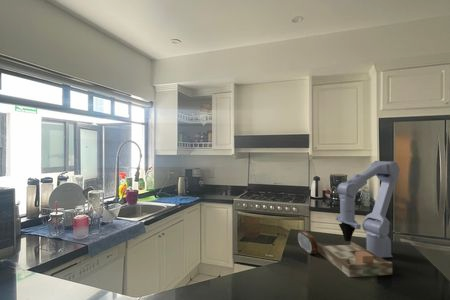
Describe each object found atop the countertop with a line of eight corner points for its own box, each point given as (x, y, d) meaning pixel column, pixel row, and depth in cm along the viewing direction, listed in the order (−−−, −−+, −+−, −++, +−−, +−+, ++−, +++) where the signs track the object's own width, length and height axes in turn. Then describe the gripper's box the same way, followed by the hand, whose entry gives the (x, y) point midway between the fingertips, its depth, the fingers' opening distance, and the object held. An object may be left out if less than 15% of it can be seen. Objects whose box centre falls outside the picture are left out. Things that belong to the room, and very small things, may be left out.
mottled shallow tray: (352, 249, 118) (352, 240, 118) (392, 274, 94) (392, 262, 94) (317, 251, 115) (317, 242, 115) (349, 277, 91) (349, 265, 92)
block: (365, 262, 99) (365, 251, 99) (373, 267, 94) (373, 255, 94) (355, 262, 98) (355, 251, 98) (362, 267, 94) (362, 256, 94)
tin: (317, 256, 110) (317, 238, 110) (311, 257, 109) (311, 238, 109) (302, 244, 124) (302, 228, 125) (296, 244, 124) (296, 228, 124)
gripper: (329, 206, 114) (330, 235, 114) (349, 214, 100) (349, 247, 99) (343, 206, 115) (343, 234, 115) (365, 213, 100) (365, 246, 100)
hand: (347, 240), depth 107 cm, fingers closed
